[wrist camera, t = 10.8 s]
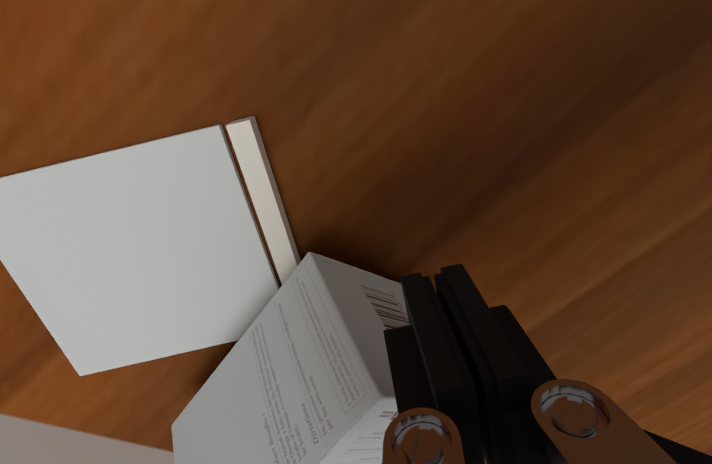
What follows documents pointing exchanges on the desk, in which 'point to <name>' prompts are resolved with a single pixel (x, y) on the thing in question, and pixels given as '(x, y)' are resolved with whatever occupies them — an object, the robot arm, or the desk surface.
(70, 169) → the mat
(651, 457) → the robot arm
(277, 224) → the strip
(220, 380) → the supplement box
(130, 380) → the desk surface
